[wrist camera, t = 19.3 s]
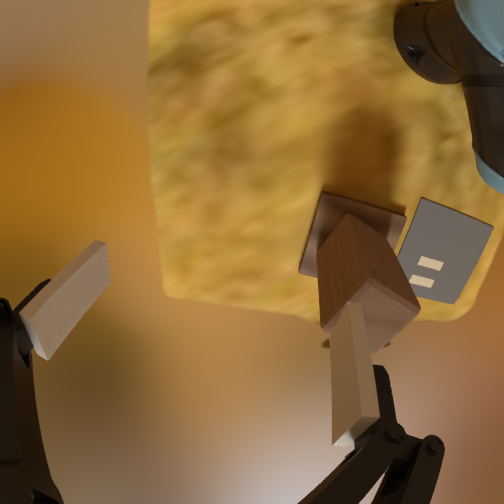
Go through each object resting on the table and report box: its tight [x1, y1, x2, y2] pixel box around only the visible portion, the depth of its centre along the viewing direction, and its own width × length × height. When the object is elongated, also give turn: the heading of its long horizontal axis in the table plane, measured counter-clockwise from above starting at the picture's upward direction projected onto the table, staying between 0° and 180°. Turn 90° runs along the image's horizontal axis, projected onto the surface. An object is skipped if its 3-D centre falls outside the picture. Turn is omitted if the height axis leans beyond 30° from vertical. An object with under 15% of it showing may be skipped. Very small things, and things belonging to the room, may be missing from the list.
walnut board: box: [299, 191, 407, 278], centre depth 51 cm, size 16×16×2 cm
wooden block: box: [316, 214, 421, 353], centre depth 42 cm, size 10×10×20 cm
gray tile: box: [397, 198, 494, 304], centre depth 50 cm, size 20×20×1 cm
